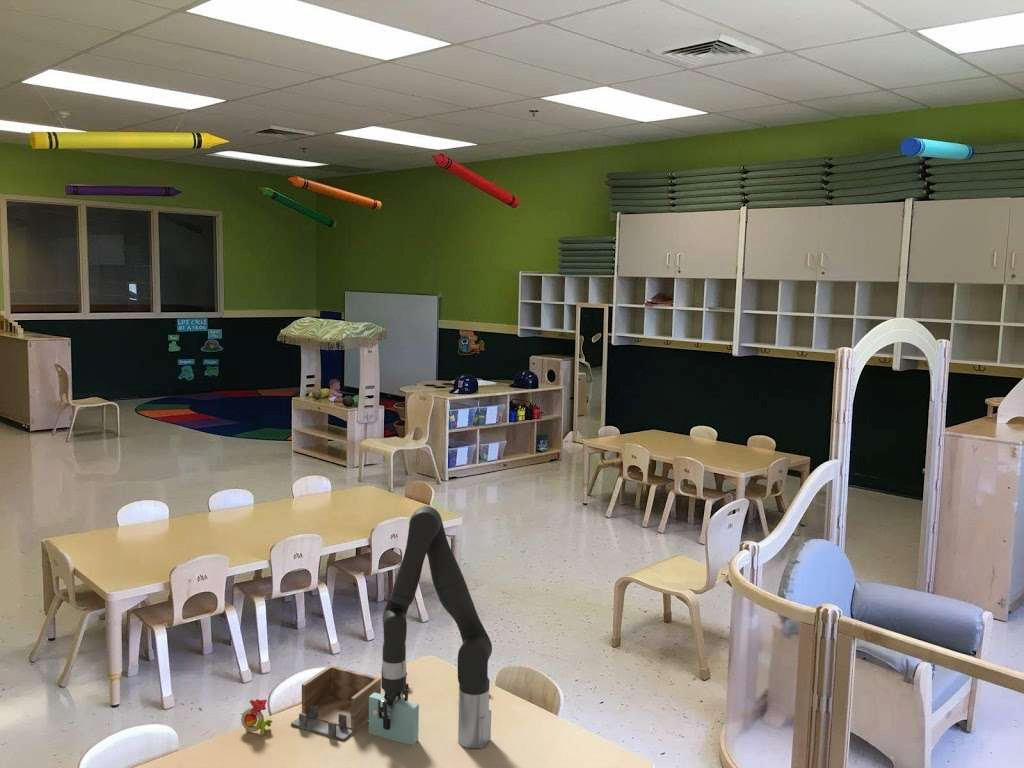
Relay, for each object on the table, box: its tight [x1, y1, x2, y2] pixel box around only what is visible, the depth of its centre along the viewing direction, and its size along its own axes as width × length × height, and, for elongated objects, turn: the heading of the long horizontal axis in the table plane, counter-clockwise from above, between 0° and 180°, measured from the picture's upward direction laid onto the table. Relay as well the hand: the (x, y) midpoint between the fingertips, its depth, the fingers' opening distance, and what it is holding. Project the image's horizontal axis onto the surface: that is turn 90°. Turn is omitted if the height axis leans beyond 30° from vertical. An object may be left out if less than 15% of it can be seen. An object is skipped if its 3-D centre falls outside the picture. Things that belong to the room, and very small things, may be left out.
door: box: [368, 692, 420, 746], centre depth 264 cm, size 16×4×12 cm, turn 66°
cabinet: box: [290, 665, 382, 742], centre depth 274 cm, size 20×21×11 cm
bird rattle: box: [240, 699, 273, 737], centre depth 264 cm, size 6×11×9 cm
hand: (393, 723), depth 264 cm, fingers open, 7 cm apart
